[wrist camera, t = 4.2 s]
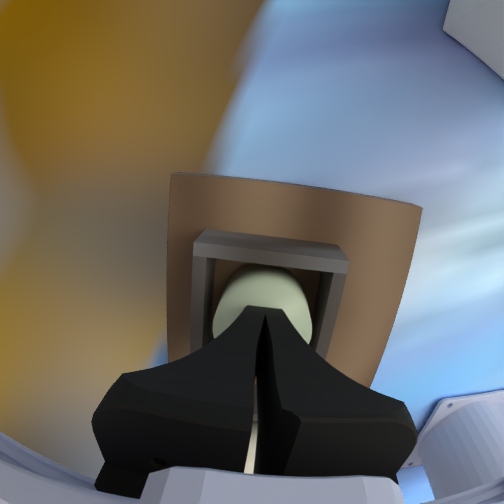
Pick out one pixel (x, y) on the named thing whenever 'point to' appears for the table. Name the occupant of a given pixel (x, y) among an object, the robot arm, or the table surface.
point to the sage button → (264, 297)
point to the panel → (290, 260)
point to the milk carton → (479, 29)
